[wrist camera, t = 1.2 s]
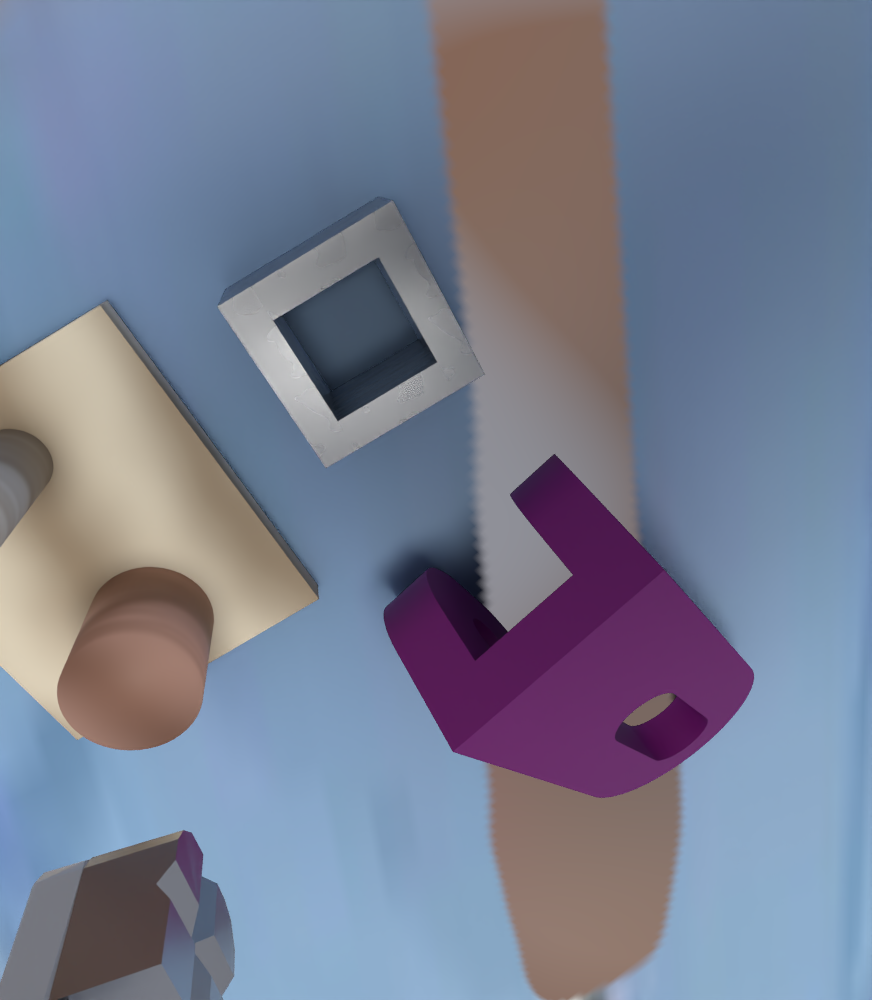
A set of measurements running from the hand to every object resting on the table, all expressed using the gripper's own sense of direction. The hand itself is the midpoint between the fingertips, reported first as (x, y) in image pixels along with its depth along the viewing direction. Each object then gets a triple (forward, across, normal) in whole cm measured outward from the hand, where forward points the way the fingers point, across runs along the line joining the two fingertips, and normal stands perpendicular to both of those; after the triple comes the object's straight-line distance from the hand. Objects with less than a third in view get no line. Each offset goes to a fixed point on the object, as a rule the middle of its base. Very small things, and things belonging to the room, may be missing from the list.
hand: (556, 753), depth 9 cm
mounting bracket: (+24, -7, +16) cm, 29 cm away
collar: (+23, 0, -1) cm, 23 cm away
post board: (+24, +12, +4) cm, 27 cm away
